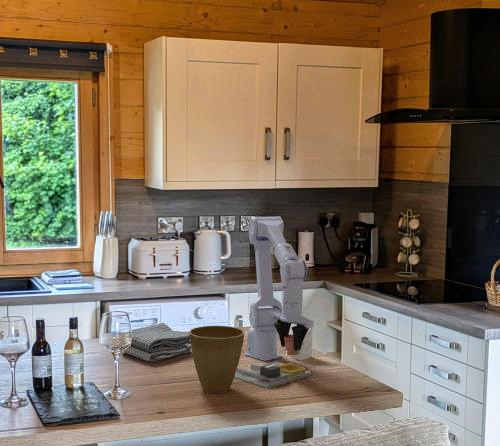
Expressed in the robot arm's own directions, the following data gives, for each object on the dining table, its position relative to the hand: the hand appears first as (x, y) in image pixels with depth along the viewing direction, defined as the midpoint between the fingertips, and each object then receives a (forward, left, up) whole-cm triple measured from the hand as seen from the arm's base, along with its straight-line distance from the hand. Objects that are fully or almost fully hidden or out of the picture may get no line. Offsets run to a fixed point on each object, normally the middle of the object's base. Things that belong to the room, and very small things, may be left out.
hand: (291, 348), depth 217 cm
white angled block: (-11, +17, -8) cm, 22 cm away
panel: (-4, -4, -8) cm, 10 cm away
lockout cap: (0, 0, -2) cm, 2 cm away
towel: (-43, -14, -9) cm, 47 cm away
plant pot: (-6, -24, -8) cm, 26 cm away
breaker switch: (0, -8, -7) cm, 11 cm away
